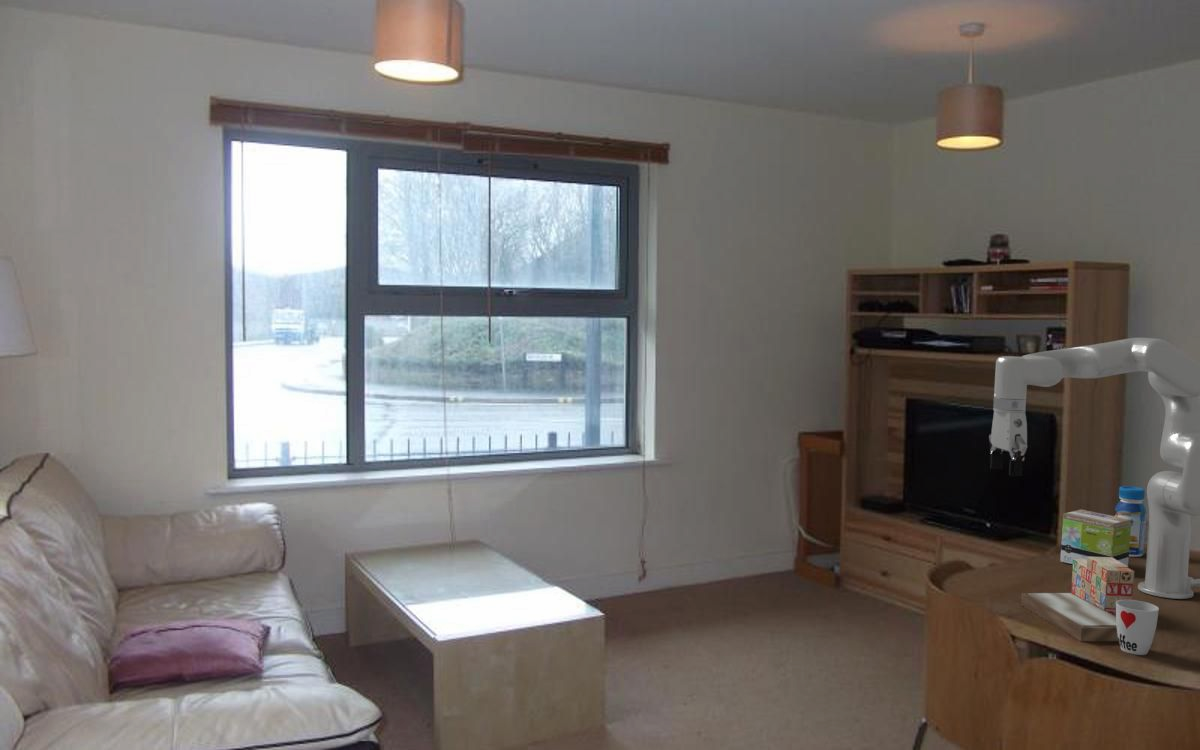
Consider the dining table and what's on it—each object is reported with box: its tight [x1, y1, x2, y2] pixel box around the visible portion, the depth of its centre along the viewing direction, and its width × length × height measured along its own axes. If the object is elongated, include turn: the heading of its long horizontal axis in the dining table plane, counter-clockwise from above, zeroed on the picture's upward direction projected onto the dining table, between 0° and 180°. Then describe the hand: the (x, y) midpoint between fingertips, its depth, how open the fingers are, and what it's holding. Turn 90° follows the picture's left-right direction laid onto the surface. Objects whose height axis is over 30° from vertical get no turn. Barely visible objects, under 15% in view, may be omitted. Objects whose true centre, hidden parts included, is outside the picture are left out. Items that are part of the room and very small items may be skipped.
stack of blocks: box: [1070, 556, 1135, 616], centre depth 246 cm, size 21×6×12 cm, turn 174°
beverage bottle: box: [1114, 485, 1147, 558], centre depth 300 cm, size 8×8×20 cm
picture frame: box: [1020, 592, 1119, 642], centre depth 234 cm, size 13×26×3 cm, turn 5°
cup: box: [1116, 599, 1160, 656], centre depth 215 cm, size 8×8×10 cm
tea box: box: [1060, 509, 1131, 567], centre depth 285 cm, size 15×10×15 cm
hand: (1005, 472), depth 254 cm, fingers open, 9 cm apart
